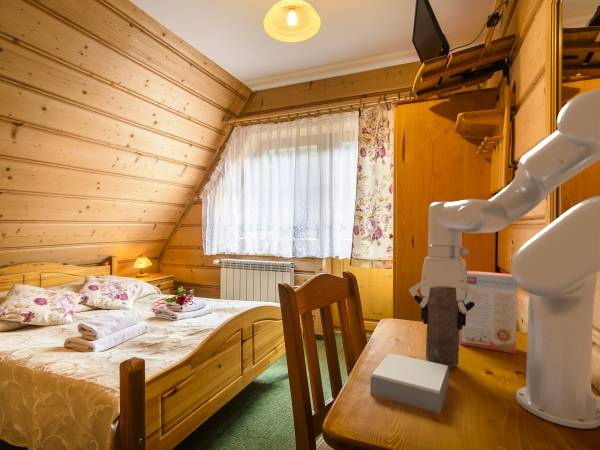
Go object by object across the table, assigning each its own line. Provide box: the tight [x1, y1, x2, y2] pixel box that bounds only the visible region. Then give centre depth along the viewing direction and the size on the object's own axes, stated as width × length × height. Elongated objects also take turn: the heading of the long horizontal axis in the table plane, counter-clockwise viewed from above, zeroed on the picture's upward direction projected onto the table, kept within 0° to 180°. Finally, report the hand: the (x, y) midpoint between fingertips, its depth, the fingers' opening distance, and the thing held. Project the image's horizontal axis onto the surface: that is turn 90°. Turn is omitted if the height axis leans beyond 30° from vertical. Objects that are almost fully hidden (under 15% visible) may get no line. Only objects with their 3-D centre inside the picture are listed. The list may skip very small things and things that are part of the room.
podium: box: [369, 352, 450, 415], centre depth 68 cm, size 13×13×4 cm
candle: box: [425, 287, 460, 368], centre depth 80 cm, size 8×7×20 cm
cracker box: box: [459, 270, 518, 355], centre depth 94 cm, size 14×6×21 cm, turn 59°
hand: (442, 325), depth 80 cm, fingers closed on candle, 7 cm apart
